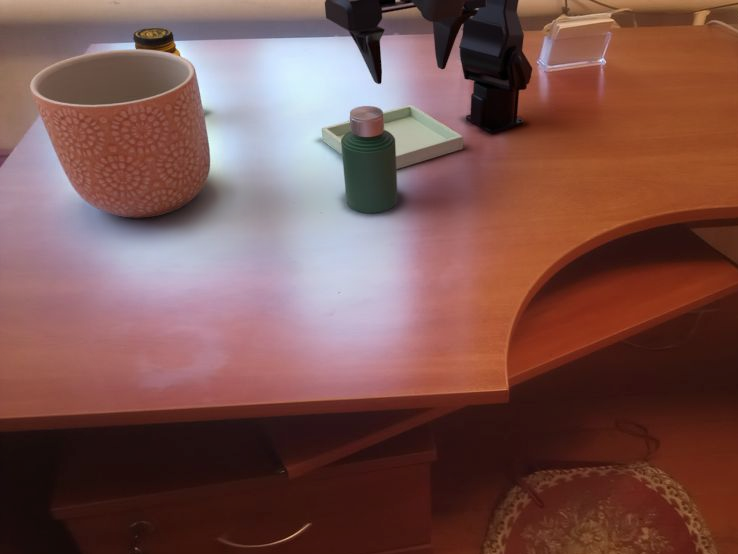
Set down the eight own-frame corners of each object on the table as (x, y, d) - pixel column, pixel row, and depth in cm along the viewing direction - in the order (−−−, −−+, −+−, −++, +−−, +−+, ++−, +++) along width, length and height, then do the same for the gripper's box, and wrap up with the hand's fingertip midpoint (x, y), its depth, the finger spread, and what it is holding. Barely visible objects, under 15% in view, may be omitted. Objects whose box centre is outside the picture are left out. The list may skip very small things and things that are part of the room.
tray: (411, 116, 110) (411, 104, 109) (462, 148, 103) (463, 136, 101) (322, 140, 103) (321, 128, 102) (370, 177, 96) (369, 164, 94)
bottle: (388, 184, 94) (384, 101, 87) (404, 207, 90) (401, 122, 83) (340, 192, 92) (332, 108, 85) (354, 217, 88) (347, 130, 81)
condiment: (206, 113, 109) (188, 30, 102) (164, 133, 104) (142, 47, 96) (170, 103, 112) (149, 21, 104) (127, 122, 106) (102, 37, 98)
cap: (378, 121, 87) (377, 104, 86) (388, 134, 84) (387, 116, 83) (347, 126, 86) (345, 108, 84) (356, 139, 83) (355, 121, 82)
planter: (64, 241, 82) (13, 111, 72) (87, 171, 95) (45, 52, 85) (220, 226, 85) (191, 100, 76) (222, 161, 98) (197, 45, 88)
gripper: (371, -45, 69) (379, 115, 79) (522, -65, 77) (511, 81, 88) (315, -68, 75) (329, 82, 85) (460, -84, 84) (457, 54, 94)
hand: (410, 75), depth 88 cm, fingers open, 9 cm apart
